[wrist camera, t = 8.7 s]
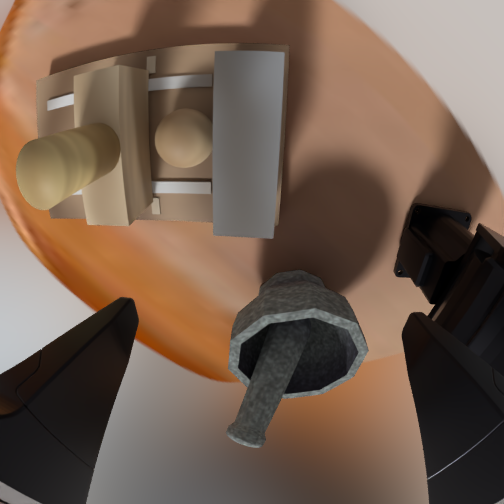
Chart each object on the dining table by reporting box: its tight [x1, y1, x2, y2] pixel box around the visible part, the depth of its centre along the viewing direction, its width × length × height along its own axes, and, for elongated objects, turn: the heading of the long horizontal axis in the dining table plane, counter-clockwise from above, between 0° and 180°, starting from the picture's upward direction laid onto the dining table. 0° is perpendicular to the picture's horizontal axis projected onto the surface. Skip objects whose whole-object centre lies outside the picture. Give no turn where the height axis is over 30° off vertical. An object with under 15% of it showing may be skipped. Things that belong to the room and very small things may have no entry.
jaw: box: [16, 65, 153, 226], centre depth 13 cm, size 3×9×9 cm, turn 178°
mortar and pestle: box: [226, 270, 369, 448], centre depth 19 cm, size 11×9×12 cm
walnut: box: [155, 109, 213, 168], centre depth 15 cm, size 4×4×4 cm
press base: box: [36, 43, 289, 239], centre depth 15 cm, size 19×12×6 cm, turn 88°
